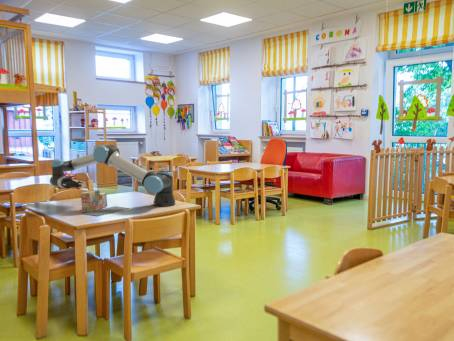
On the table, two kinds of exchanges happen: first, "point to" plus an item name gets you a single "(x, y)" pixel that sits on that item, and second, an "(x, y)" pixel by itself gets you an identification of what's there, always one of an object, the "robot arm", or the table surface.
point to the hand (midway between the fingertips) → (85, 185)
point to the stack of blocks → (93, 200)
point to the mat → (106, 211)
